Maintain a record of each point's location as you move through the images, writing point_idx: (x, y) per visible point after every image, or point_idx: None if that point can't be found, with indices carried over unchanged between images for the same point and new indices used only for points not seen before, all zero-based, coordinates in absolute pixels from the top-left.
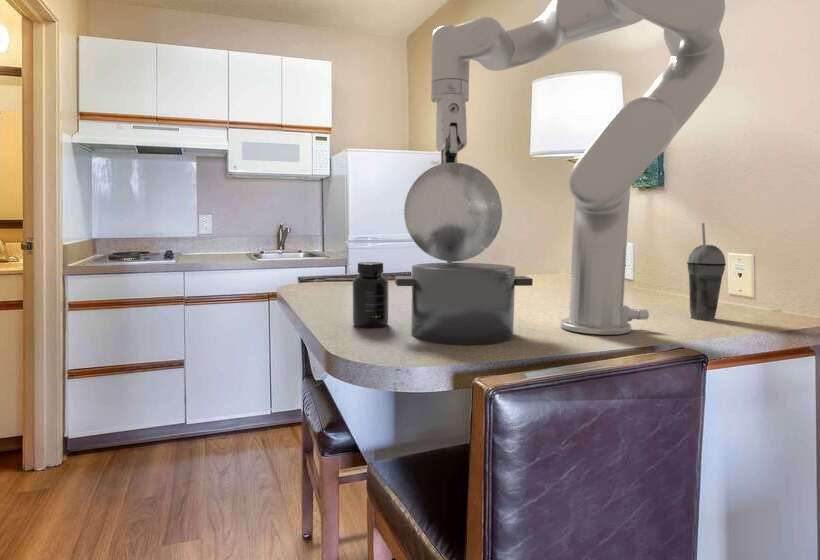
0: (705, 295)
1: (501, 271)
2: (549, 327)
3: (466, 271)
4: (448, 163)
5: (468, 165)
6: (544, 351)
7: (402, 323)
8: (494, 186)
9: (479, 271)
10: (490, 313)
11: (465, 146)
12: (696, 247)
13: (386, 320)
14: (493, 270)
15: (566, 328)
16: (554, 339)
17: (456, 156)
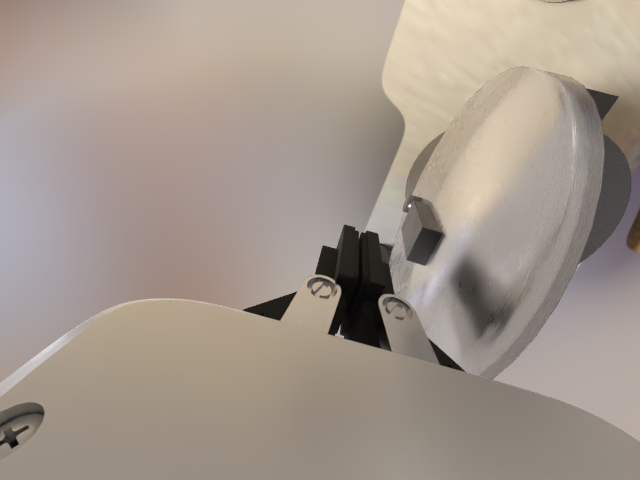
0: None
1: (628, 194)
2: (510, 19)
3: (593, 252)
4: (493, 373)
5: (561, 291)
6: (622, 135)
7: (377, 226)
8: (593, 108)
9: (609, 235)
10: None
11: (593, 415)
12: None
13: (389, 251)
14: (616, 207)
15: (557, 1)
16: (584, 73)
17: (429, 350)
